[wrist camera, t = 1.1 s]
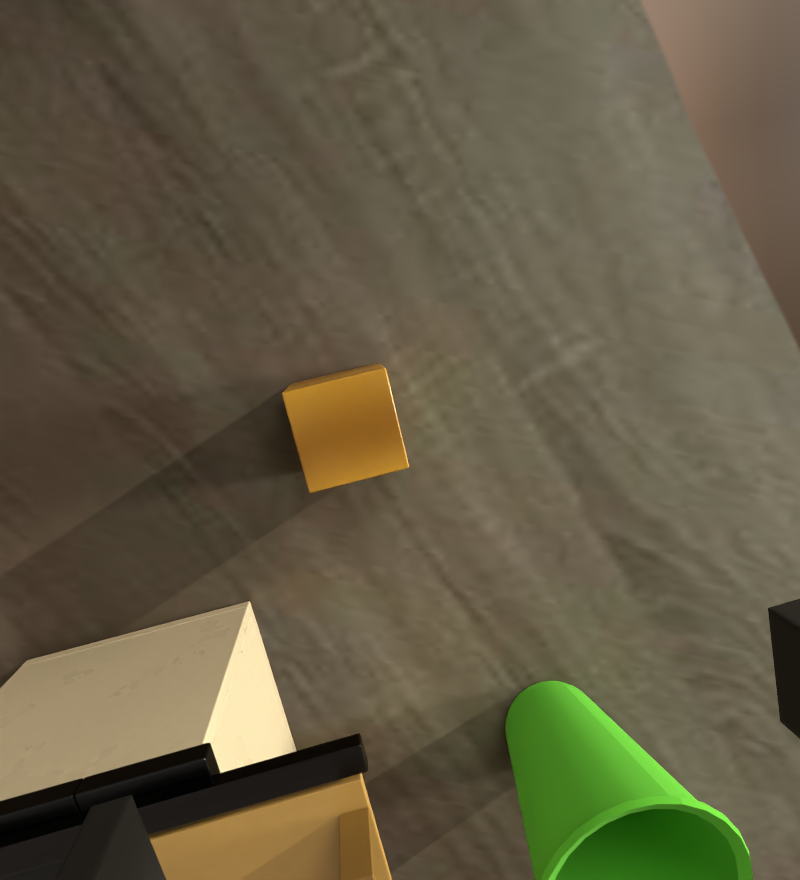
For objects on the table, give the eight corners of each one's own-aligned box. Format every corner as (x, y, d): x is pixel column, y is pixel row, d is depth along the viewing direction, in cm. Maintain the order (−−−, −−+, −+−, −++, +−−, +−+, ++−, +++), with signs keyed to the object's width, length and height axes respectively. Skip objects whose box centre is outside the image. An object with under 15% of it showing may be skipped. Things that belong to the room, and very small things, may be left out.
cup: (453, 776, 33) (510, 988, 22) (493, 635, 32) (574, 786, 21) (595, 795, 34) (713, 1003, 24) (639, 659, 33) (785, 815, 22)
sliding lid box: (10, 652, 29) (-244, 899, 16) (347, 563, 30) (356, 728, 17) (94, 856, 32) (-69, 1208, 19) (402, 766, 33) (444, 1040, 20)
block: (289, 384, 28) (281, 392, 24) (377, 362, 28) (385, 367, 24) (313, 470, 29) (309, 493, 25) (398, 448, 29) (409, 467, 25)
